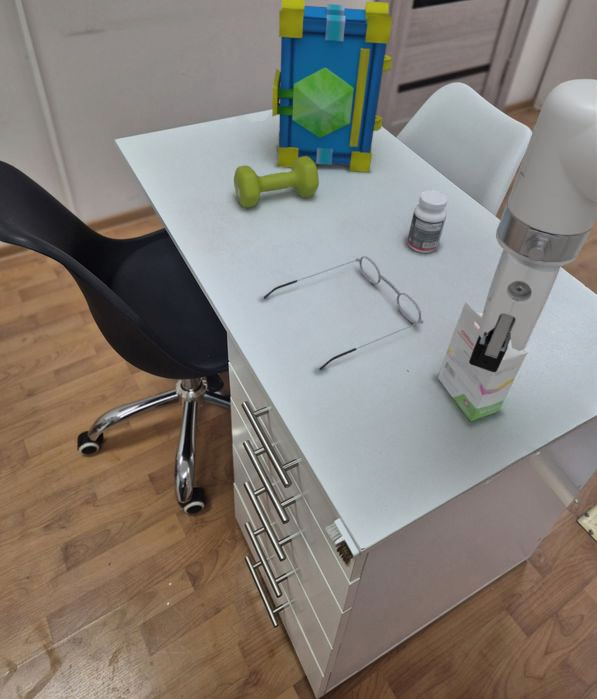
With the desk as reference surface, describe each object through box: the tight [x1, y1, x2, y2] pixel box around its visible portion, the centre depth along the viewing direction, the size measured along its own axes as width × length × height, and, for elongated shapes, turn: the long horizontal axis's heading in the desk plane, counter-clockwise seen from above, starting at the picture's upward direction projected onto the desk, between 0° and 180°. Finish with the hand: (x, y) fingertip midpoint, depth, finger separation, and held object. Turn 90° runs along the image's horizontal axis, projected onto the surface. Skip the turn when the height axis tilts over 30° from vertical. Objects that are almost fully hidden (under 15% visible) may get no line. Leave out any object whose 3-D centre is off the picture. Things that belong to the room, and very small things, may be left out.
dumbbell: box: [233, 156, 320, 209], centre depth 108 cm, size 16×8×7 cm, turn 112°
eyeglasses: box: [263, 255, 424, 371], centre depth 86 cm, size 18×19×4 cm
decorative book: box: [271, 0, 393, 173], centre depth 112 cm, size 14×23×30 cm, turn 88°
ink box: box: [437, 301, 528, 422], centre depth 71 cm, size 9×5×15 cm, turn 22°
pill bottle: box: [407, 189, 448, 254], centre depth 98 cm, size 6×6×10 cm
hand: (483, 363), depth 63 cm, fingers closed
